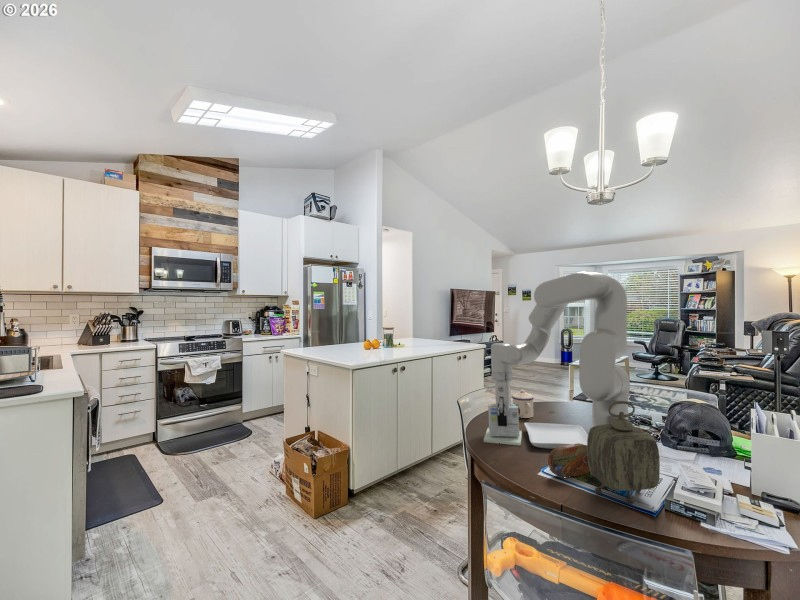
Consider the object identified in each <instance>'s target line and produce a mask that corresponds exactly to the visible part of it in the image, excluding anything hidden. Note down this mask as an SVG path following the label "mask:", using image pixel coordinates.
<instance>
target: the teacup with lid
mask: <svg viewBox="0 0 800 600" xmlns="http://www.w3.org/2000/svg"><path fill="white" fill-rule="evenodd" d="M511 399H512V404H516V406H517V407H518V415H519V417H521V418H530V417H533V418H534V396H533V395H532V394H530V393H528V392H526V391H525V389H520V390H519V392H517V393H514V394H512V395H511ZM530 419H531V418H530Z"/></svg>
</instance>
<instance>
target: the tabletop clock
mask: <svg viewBox="0 0 800 600" xmlns="http://www.w3.org/2000/svg"><path fill="white" fill-rule="evenodd" d="M616 404H628V406H630V407H631V408H632V412H630V413H629V412H628V414H626V415H624V413H623V412H620V413H619V415H615V414H612V413H611V412H610V409H611V407H613V406H614V405H616ZM635 411H636V408H635V406H634V404H632V403H631V402H630V401H628V402H626V401H618V402H614V403H612V404H611V405H610V406H609V408H608V412H609V414H610V415H612V416H614V417H617V418H616V419H614V420H613V421H612V424H605V425H597V426H594V427H593V426H592V427H590V428H589V430H588V432H587V434H588V439H587V458H588V465H589V469H590V472H589V473H590V474H591V475H592V476H593V477H594V478H595V479H597V480H598V481H599V482H600V483H601V484H600V487H595V489H594V491H595V493H596V494H598V495H601V494H602V493H603V488H604V487H606V488H607V489H610V490H614V491H626V494H627V496H626V498H625V500H626V502H627V503H629V504H633V503H634V501H635V500H634V498H633V497H632V496H631V491H635V492H637V493H641V492H642V490H643V491H644V490H651V489H654V488H657V487H658V485H659V482H660V468H661V467H660V465H661V463H660V462H661V461H660V453H659V452H660V451H659V450H660V449H659V447H658V443H657V441H656V438H655V437H654V435H652V434H650V433H648V432H645V431H644V430H643V429H639V428H638V427H636V426H634V425H633V424H632V422H631V421H630V420H629V419H628V420H627V419H624V418H625V417H628V418H629V417H631V416H632V415H634V414H635Z"/></svg>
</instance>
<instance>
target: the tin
mask: <svg viewBox="0 0 800 600" xmlns="http://www.w3.org/2000/svg"><path fill="white" fill-rule="evenodd" d="M547 461H548V462H547V463H548V468H549V470H550V472H551V473H552V474H554V475H555V476H557V477H558V478H560V479H565V478H564V477H569V476H570V478H572V477H571V476H574V477H578V476H583V475H587V474H589V473H591V472H590V469H589V465H588V458H587V445H583V444H579V443H578V444H572V445H567V446H561V447H557V448H554V449H552V450H551V451H550V453H549V455H548V460H547Z"/></svg>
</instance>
